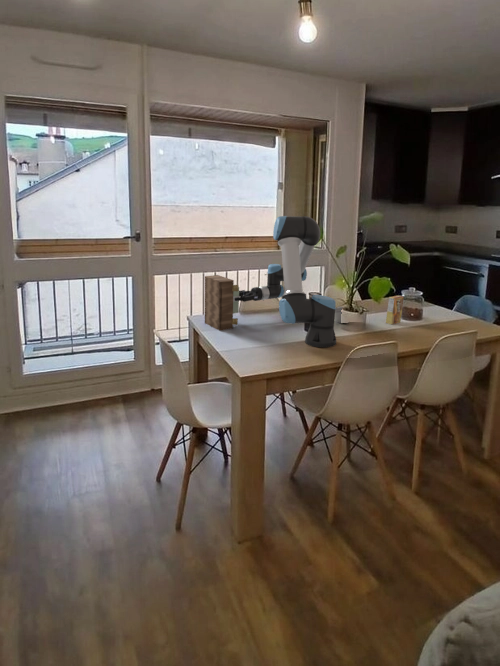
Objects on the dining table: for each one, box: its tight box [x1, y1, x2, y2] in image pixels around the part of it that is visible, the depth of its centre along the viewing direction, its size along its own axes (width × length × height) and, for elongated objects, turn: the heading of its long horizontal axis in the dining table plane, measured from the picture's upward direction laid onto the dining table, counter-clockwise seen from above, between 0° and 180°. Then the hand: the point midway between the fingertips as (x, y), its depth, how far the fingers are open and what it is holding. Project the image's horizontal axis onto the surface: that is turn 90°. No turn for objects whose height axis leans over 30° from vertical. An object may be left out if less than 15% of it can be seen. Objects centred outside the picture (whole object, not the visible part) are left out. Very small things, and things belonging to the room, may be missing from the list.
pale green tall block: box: [233, 286, 240, 314], centre depth 265 cm, size 8×4×14 cm, turn 34°
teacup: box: [334, 306, 344, 324], centre depth 278 cm, size 14×11×8 cm
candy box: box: [385, 295, 405, 325], centre depth 278 cm, size 9×4×15 cm, turn 129°
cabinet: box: [204, 274, 239, 331], centre depth 259 cm, size 18×10×26 cm, turn 34°
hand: (224, 297), depth 261 cm, fingers closed on pale green tall block, 8 cm apart
